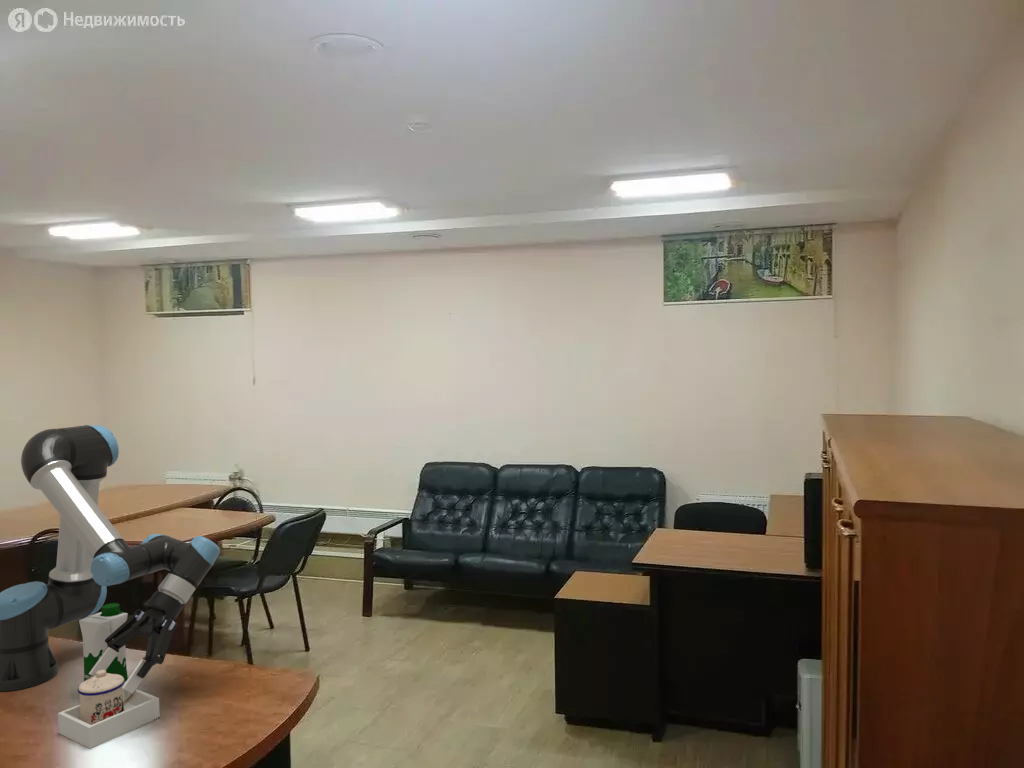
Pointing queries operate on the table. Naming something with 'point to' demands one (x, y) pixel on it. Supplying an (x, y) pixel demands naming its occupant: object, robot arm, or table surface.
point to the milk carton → (103, 639)
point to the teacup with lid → (102, 697)
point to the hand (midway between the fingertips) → (110, 683)
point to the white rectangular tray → (109, 721)
